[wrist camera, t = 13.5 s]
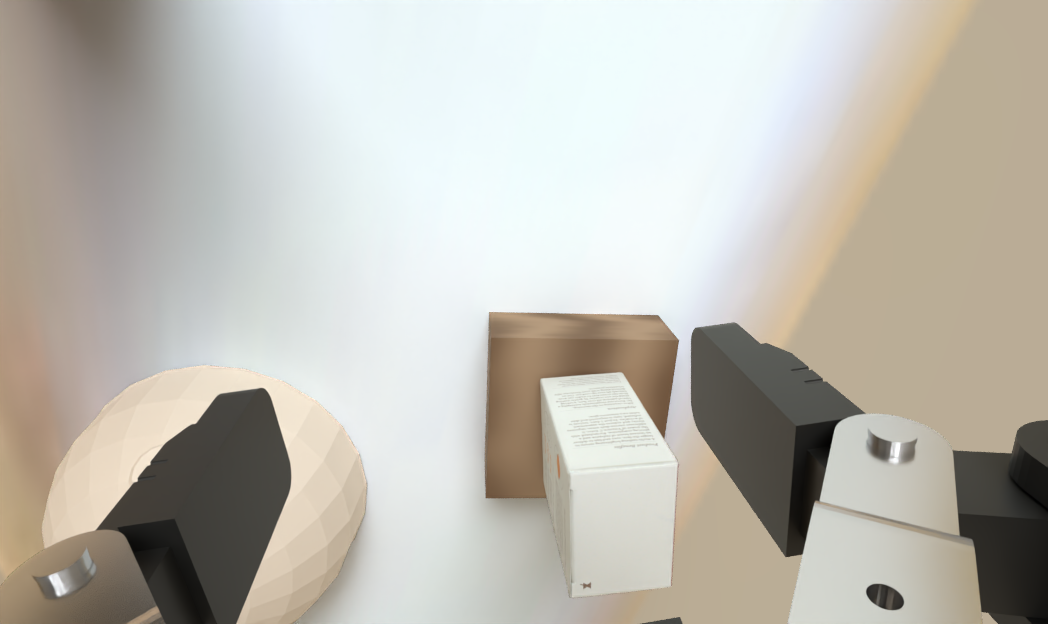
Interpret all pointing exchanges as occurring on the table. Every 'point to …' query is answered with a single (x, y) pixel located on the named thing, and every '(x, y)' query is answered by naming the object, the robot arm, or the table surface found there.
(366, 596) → the table surface
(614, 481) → the small box
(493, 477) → the walnut block
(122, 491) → the kettle
